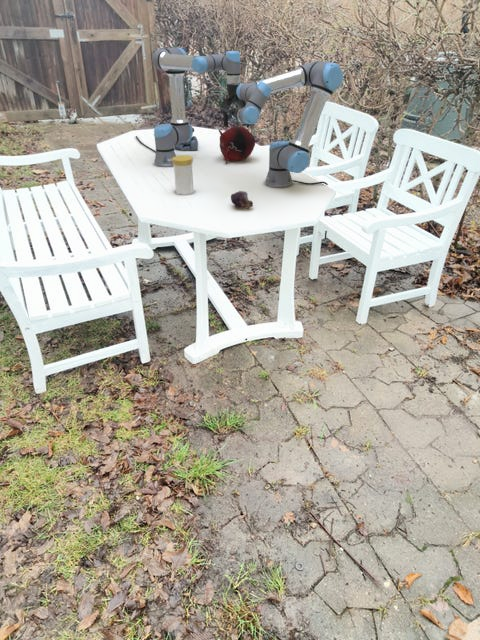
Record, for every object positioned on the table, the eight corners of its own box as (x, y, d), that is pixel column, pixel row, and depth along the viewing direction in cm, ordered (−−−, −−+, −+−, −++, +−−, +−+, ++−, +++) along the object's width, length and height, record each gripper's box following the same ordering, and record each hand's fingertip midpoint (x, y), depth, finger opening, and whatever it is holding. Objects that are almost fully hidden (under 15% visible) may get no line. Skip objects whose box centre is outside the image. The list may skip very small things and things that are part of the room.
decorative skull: (216, 132, 305) (216, 129, 282) (250, 124, 304) (252, 121, 281) (223, 164, 312) (223, 164, 288) (256, 157, 311) (259, 156, 288)
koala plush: (198, 150, 320) (196, 121, 309) (173, 151, 319) (170, 122, 308) (198, 145, 335) (196, 116, 324) (174, 145, 334) (171, 117, 322)
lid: (196, 163, 238) (195, 158, 237) (177, 166, 233) (177, 162, 232) (187, 158, 246) (186, 154, 244) (169, 161, 241) (168, 157, 240)
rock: (244, 204, 234) (227, 207, 230) (243, 188, 230) (225, 190, 226) (255, 208, 224) (237, 211, 220) (254, 190, 221) (236, 193, 216)
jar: (196, 192, 247) (194, 159, 237) (180, 195, 243) (177, 162, 233) (188, 187, 254) (186, 155, 244) (172, 190, 250) (169, 158, 240)
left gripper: (222, 86, 238) (223, 129, 250) (253, 82, 253) (253, 122, 265) (212, 85, 242) (214, 127, 254) (243, 80, 257) (243, 120, 269)
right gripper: (218, 108, 220) (210, 109, 238) (260, 136, 230) (249, 134, 249) (226, 94, 218) (217, 96, 237) (267, 122, 228) (256, 122, 247)
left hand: (234, 125), depth 259 cm, fingers open, 13 cm apart
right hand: (233, 116), depth 243 cm, fingers open, 13 cm apart
